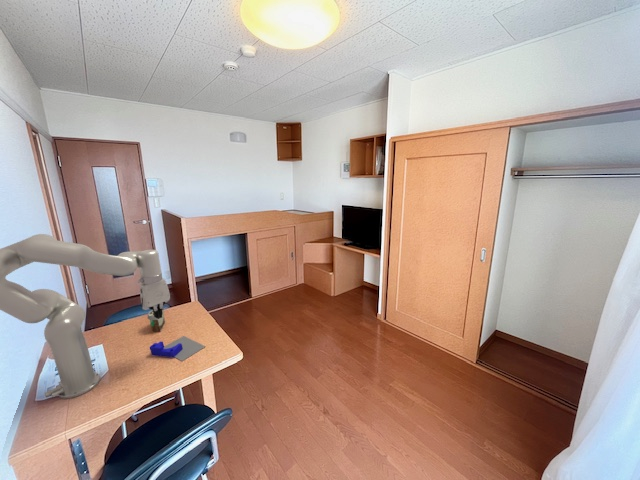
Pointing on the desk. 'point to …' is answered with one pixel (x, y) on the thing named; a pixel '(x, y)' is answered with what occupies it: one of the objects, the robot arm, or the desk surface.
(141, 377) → the desk surface
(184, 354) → the pad
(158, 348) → the blue angular piece
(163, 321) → the food container
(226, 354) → the desk surface
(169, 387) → the desk surface
